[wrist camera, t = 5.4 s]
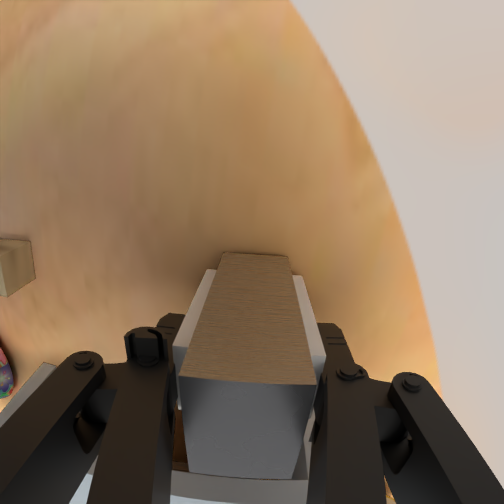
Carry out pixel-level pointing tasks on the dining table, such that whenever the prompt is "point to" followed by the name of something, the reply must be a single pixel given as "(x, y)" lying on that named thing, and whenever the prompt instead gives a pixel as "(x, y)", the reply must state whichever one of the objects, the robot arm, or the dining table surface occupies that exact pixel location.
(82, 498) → the grey u-shaped bridge
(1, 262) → the l-shaped tan bracket
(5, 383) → the mug
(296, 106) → the dining table surface
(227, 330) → the grey piece
